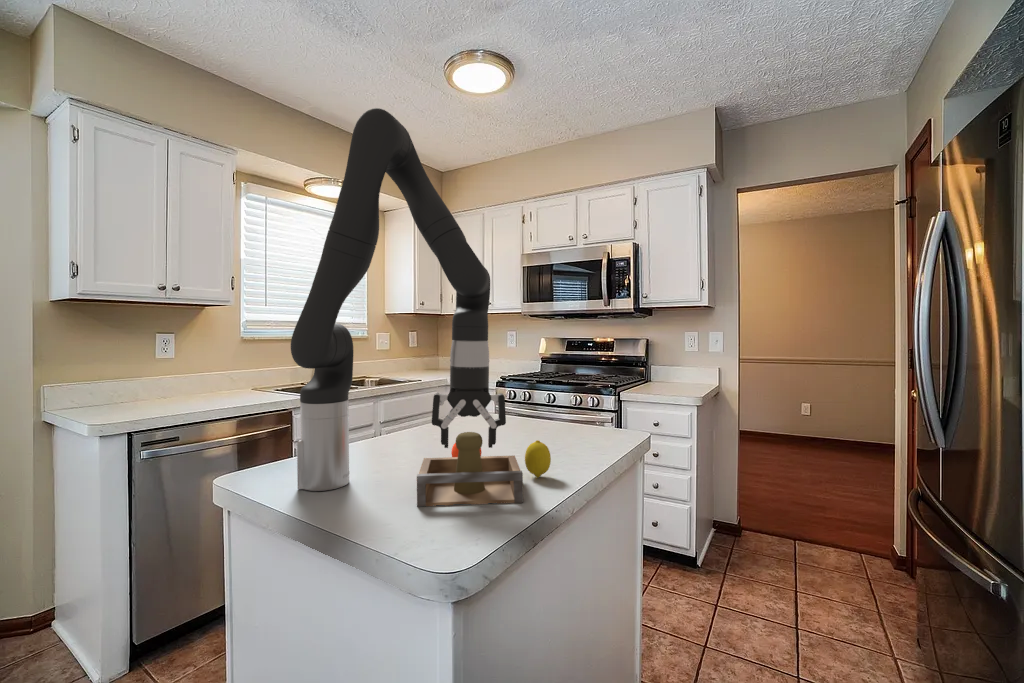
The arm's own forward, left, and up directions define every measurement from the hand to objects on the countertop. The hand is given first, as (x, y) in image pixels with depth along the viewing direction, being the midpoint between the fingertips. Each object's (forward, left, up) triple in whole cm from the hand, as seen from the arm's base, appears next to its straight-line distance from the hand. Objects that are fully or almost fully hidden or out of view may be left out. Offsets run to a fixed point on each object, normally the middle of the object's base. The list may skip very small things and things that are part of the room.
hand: (468, 446), depth 94 cm
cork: (0, 0, -8) cm, 8 cm away
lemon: (+15, +8, -9) cm, 19 cm away
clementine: (0, +18, -9) cm, 20 cm away
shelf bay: (0, 0, -9) cm, 9 cm away
